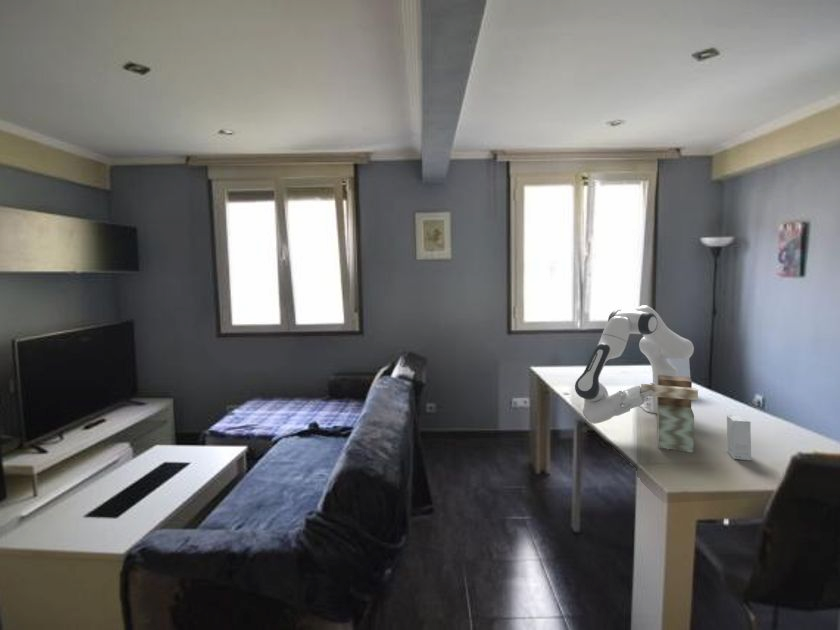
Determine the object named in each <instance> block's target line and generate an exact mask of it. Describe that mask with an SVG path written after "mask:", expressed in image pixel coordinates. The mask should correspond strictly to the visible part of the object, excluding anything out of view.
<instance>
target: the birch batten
mask: <svg viewBox="0 0 840 630" xmlns="http://www.w3.org/2000/svg"><path fill="white" fill-rule="evenodd" d="M640 387H641V393H644V392H646V391H647V390H650V389H652V390H653V392H654V393H653V394H651V395H649V396H654V397H665V398H677V399H689V400H691V401H698V400H699V390H698V388H697V387H692V388H689V387H676V386H663V385H652V384H650V383H649V384H646V383H641V384H640Z"/></svg>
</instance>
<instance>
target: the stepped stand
mask: <svg viewBox="0 0 840 630" xmlns="http://www.w3.org/2000/svg"><path fill="white" fill-rule="evenodd" d="M658 385H663V386H676V387H689V388H693V385H692V379H691V376H690V377H681V376H665V375H658ZM694 429H695V413H694V411H693V409H692V400H689V399H677V398H665V397H657V415H656V436H657V445H658V446H657V447H658V448H659V447H660V448H659V449H662V448H667V449H666V450H669V449H675V450H674V451H677V450H682V451H681V452H685V451H689V452H688V453H692V452H693V453H694V446H695V445H694V441H695V440H694V439H695V438H694V437H695V436H694V435H695V431H694Z"/></svg>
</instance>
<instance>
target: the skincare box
mask: <svg viewBox="0 0 840 630" xmlns="http://www.w3.org/2000/svg"><path fill="white" fill-rule="evenodd" d="M751 424H752V423H751V421H750V420H749V419H748V418H746V417H745V416H744V415H726V436H727V437H726V438H727V439H726V443H727V445H726V449H727V453H728V454H729V455H730V457H731V458H732V459H733V460H742V461H748V462H749V461H751V460H752V441H751V440H752V439H751V437H752V436H751V435H752V433H751Z"/></svg>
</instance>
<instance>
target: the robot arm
mask: <svg viewBox="0 0 840 630" xmlns="http://www.w3.org/2000/svg"><path fill="white" fill-rule="evenodd" d="M631 334H632V335H642V336H643V337H642V338H640V341H639V344H638V346H639V350H640V352H641V353H642V354H643V355H644V356H645V357H646V359H647V360H648V361H649V363H650V366H651V371H652V382H651V383H649V384H650V385H658V375H665V376H677V375H678V372H677V370H676V368H675V367H674V366H672V365H671V364H670V363H669V362H668V360H667V358H671V359H688V358H689V359H690V358H691V357H692V356H693V354H694V352H695V351H694V350H695V347H694V344H693V342H692V341H691V340H689V339H688V338H684V337H682V336H681V335H679V334H677V333H676V332H674V331H673V330H672V329H670V328H669V327H668V326H667V325H666V324H665V322H664V321H663V319H662V317H661V316H660V314H658V313H657V311H656V310H655V309H654V308H652V307H651V306H648V305H640V306H638V307H636V308H635V309H632V310H631V309H626V310H625V309H623V310H622V309H616V310H613V311H612V312H611V313H610V314H609V315H608V319H607V323H606V325H605V327H604V329H603V331H602V334H601V337H600V338H599V342H598V343H597V346H596V347H595V349H594V350H593V352H592V354H591V357H590V358H589V361H588V363H587V365H586V366H585V369H584V370H583V372H582V374H581V375H580V376H579V377H578V378H577V379H576V381H575V383H574V390H575V391H574V392H576V394H577V395H578V396H579V397H580V398H582V399H584V401H583V403H584V404H583V408H582V414H583V416H584V417H585V418H586V419H587V420H588V422H589V423H591V424H595V425H596V424H600V423H602V422H603V423H604V422H606V421H609V420H611V419H612V418H614V417H619V416H621V415H623V414H626V413H628V412H630V411H631V410H632V409H634V408H637V407H640V408H641V409H642V410H643V411H645V412H646V413H651V414H657V397H654V396H649V395H651V394H653V393H654V392H653V390H652V389H650V390H647V391H646V392H644V393H641V385H635V386H633V387H631V388H626V389H625V390H619V391H617V392H616V393H613V394H611V395H609V392H608V390H607V388H606V386H604V385H603V384H602V383H601V382H600V377H601V373H602V371H603V369H604V367H605V365H606V362H608V361H609V360H611V359H616V358H619V357H621V355H622V354H623V353H624V350H625V349H626V346H627V343H628V341H629V337H630V335H631Z"/></svg>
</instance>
